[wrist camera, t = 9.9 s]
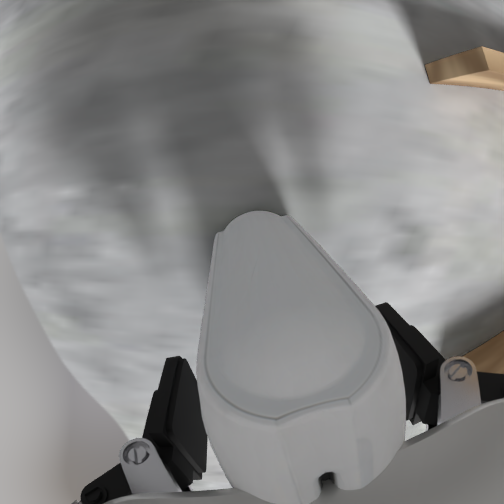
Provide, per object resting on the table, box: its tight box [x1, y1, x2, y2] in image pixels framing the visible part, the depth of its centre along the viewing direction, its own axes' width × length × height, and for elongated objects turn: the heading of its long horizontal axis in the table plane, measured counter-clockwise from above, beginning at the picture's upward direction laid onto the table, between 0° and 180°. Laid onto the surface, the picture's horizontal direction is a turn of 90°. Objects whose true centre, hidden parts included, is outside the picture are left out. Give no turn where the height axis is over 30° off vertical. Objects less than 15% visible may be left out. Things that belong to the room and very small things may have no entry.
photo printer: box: [196, 211, 406, 504], centre depth 10 cm, size 10×4×12 cm, turn 13°
